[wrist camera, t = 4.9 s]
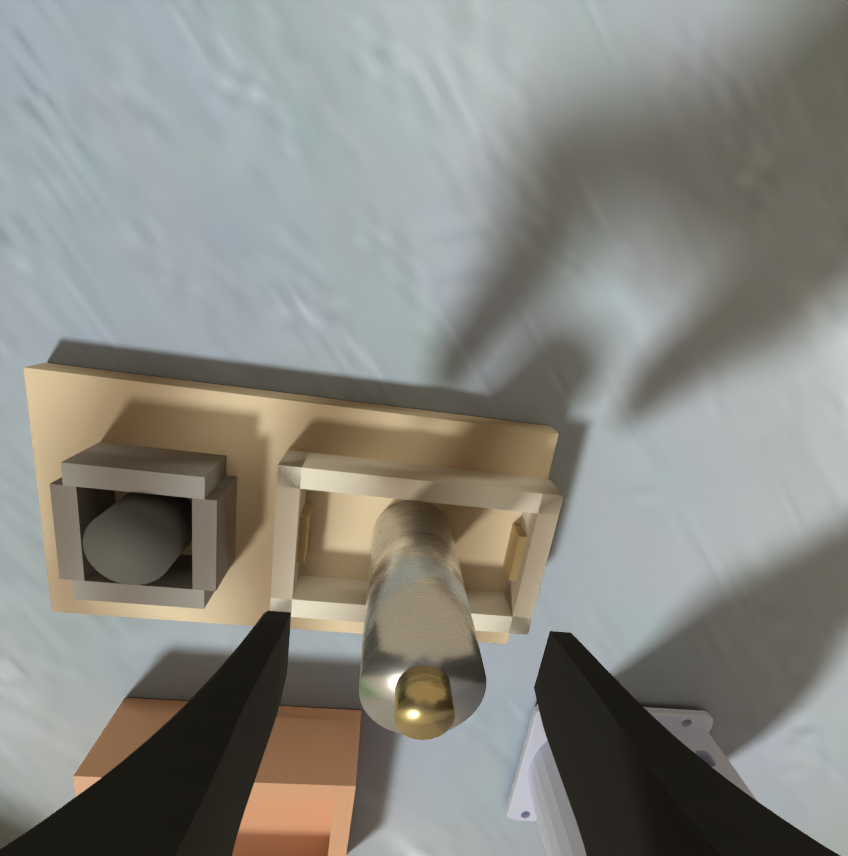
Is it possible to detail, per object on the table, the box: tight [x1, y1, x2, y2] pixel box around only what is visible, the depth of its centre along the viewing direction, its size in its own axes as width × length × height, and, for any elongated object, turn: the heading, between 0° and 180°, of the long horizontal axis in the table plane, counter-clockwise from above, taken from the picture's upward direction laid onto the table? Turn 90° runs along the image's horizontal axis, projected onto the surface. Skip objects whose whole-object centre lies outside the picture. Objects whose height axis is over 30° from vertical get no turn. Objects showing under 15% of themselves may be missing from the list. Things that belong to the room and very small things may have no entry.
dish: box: [74, 698, 362, 856], centre depth 21 cm, size 11×11×4 cm
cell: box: [359, 500, 486, 740], centre depth 14 cm, size 3×3×8 cm
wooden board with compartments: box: [24, 363, 564, 644], centre depth 17 cm, size 19×10×3 cm, turn 82°
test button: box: [83, 492, 192, 585], centre depth 16 cm, size 3×3×2 cm
